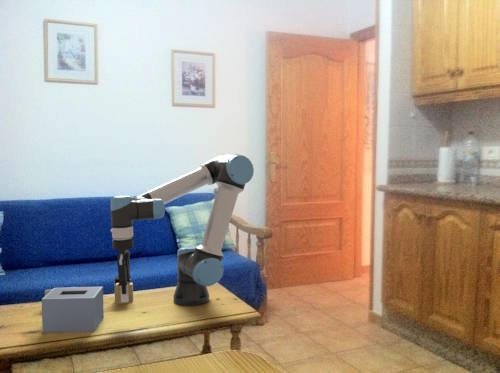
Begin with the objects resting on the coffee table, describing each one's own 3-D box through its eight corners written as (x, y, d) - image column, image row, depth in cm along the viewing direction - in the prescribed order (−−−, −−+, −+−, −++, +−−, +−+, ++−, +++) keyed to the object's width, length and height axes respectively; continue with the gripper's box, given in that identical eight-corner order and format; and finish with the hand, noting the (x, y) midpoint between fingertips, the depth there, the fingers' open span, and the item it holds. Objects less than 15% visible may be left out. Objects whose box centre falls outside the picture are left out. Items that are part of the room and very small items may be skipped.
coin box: (103, 317, 182) (102, 286, 181) (95, 330, 168) (94, 297, 167) (55, 318, 180) (54, 287, 179) (42, 332, 166) (41, 299, 165)
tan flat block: (133, 300, 177) (132, 282, 176) (132, 303, 174) (131, 284, 174) (117, 301, 176) (116, 283, 176) (115, 303, 174) (115, 285, 173)
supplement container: (112, 300, 202) (112, 276, 201) (127, 298, 206) (127, 274, 205) (117, 304, 196) (117, 280, 195) (133, 302, 200) (132, 277, 199)
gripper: (116, 234, 181) (119, 294, 183) (107, 242, 165) (111, 308, 167) (136, 233, 181) (138, 293, 183) (129, 241, 166) (132, 307, 168)
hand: (125, 300), depth 175 cm, fingers closed on tan flat block, 2 cm apart
